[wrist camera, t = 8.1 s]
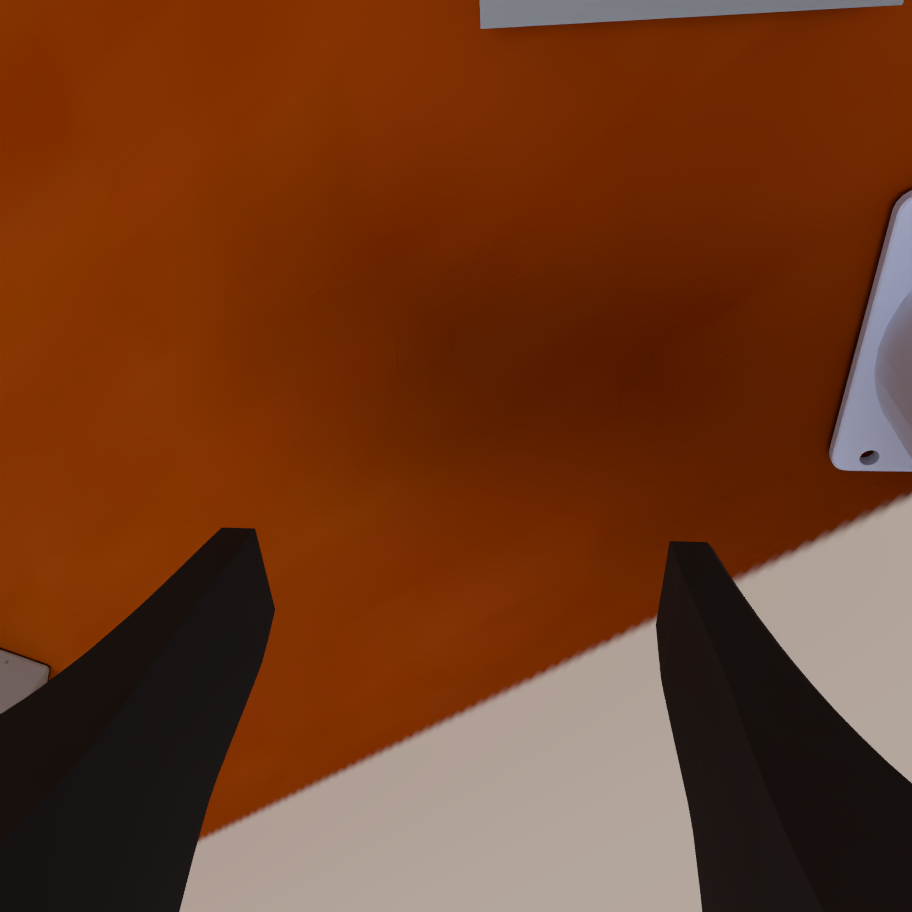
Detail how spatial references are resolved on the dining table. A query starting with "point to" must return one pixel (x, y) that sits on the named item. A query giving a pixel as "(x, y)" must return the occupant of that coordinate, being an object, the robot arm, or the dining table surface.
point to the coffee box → (19, 678)
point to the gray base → (641, 9)
